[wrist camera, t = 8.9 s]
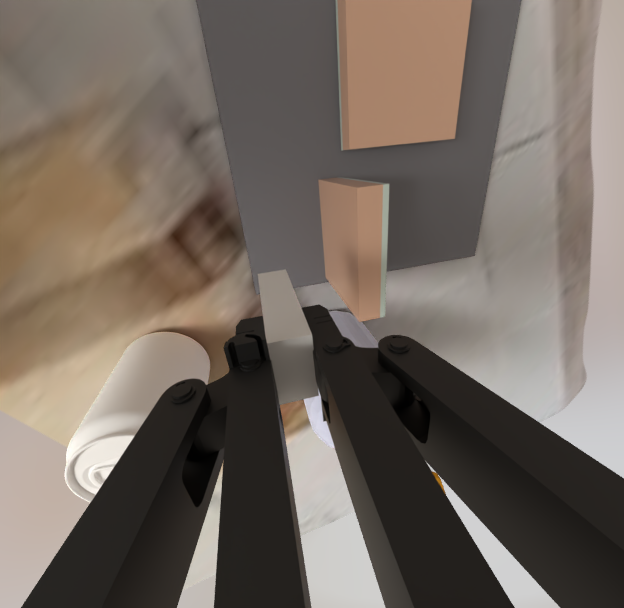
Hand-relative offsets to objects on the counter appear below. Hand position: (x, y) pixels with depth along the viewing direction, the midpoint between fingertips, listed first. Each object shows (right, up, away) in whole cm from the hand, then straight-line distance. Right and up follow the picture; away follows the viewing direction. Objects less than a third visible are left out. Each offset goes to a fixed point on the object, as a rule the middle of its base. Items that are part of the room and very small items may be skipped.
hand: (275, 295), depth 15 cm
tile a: (+4, +16, +5) cm, 17 cm away
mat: (+7, +13, +9) cm, 17 cm away
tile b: (+4, +6, +11) cm, 13 cm away
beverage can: (-13, -6, +14) cm, 20 cm away
